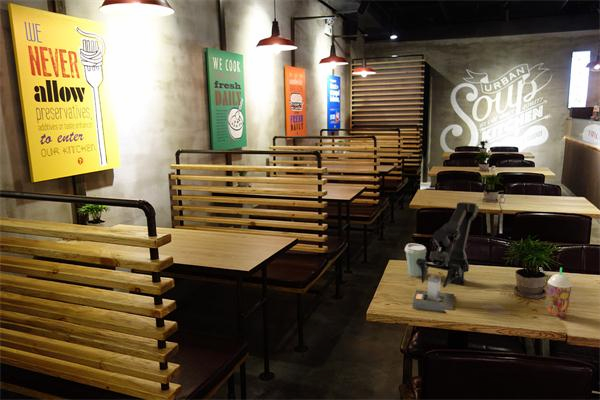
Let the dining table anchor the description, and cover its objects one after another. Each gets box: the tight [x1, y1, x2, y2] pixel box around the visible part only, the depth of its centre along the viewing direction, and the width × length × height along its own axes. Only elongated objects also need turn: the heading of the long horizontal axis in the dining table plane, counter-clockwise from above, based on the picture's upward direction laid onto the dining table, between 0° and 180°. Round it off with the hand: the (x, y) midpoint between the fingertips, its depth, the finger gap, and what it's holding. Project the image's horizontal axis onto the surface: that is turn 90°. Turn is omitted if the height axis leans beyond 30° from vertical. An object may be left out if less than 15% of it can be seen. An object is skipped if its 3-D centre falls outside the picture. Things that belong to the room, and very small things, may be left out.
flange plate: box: [412, 289, 455, 313], centre depth 201 cm, size 14×16×3 cm
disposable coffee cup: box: [404, 242, 427, 278], centre depth 232 cm, size 11×11×15 cm
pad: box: [480, 303, 510, 315], centre depth 191 cm, size 8×8×2 cm
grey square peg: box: [426, 274, 442, 302], centre depth 200 cm, size 4×4×12 cm
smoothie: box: [546, 267, 573, 319], centre depth 185 cm, size 8×8×20 cm
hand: (432, 284), depth 198 cm, fingers open, 9 cm apart
